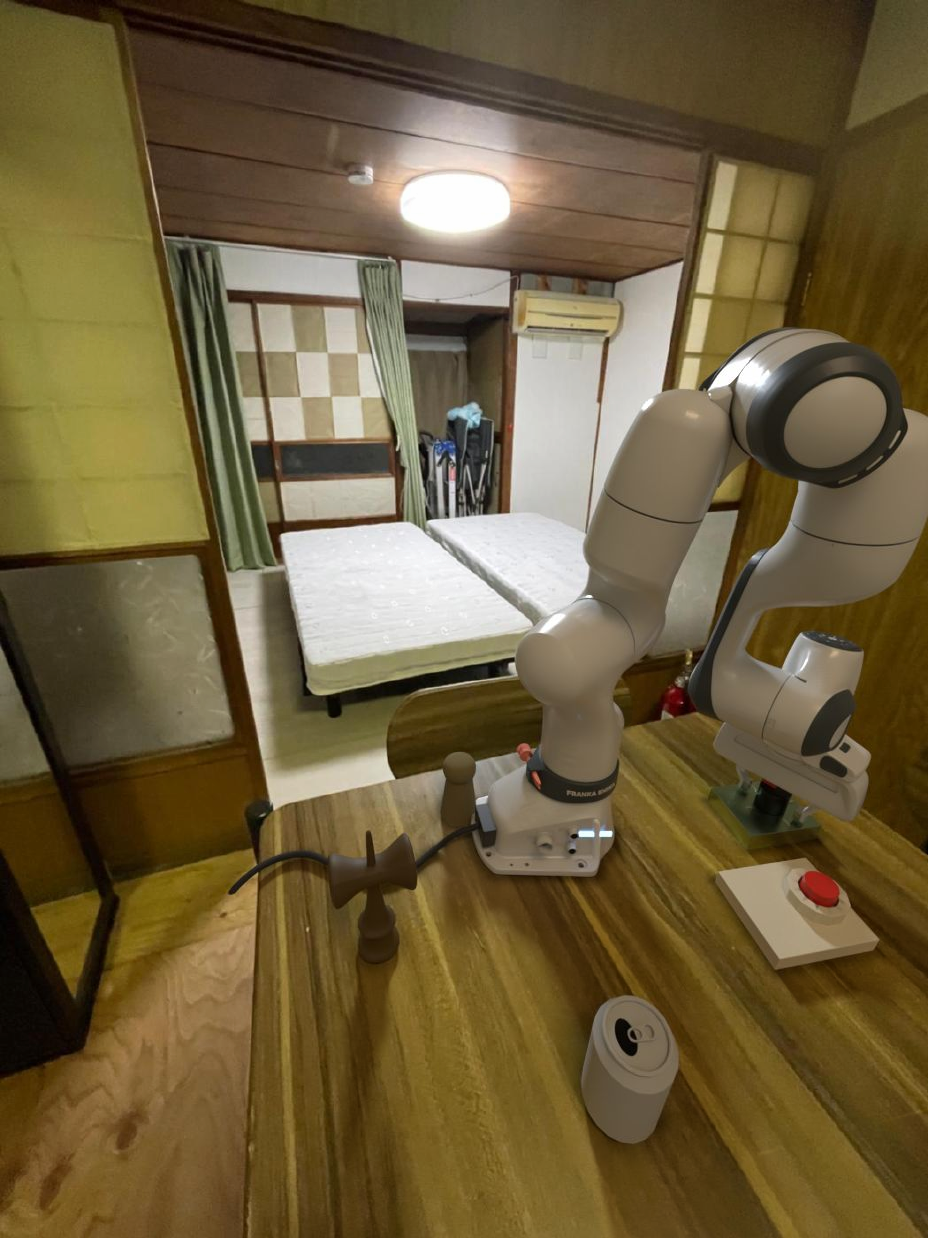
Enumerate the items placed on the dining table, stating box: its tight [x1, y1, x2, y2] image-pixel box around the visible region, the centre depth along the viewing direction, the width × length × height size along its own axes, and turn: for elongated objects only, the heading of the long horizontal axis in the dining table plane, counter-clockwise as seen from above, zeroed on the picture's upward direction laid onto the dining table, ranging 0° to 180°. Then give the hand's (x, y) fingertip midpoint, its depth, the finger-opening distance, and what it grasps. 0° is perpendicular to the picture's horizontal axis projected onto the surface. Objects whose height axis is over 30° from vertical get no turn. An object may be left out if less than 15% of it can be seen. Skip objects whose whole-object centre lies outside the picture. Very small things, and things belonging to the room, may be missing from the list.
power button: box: [800, 870, 840, 907], centre depth 67 cm, size 4×4×2 cm
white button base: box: [714, 857, 880, 971], centre depth 67 cm, size 14×12×4 cm
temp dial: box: [755, 778, 793, 815], centre depth 81 cm, size 4×4×4 cm
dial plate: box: [707, 780, 822, 851], centre depth 82 cm, size 12×10×3 cm
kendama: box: [326, 829, 418, 964], centre depth 60 cm, size 6×10×20 cm, turn 108°
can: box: [580, 994, 679, 1145], centre depth 48 cm, size 8×8×12 cm
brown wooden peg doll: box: [439, 751, 477, 827], centre depth 81 cm, size 6×6×11 cm
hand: (770, 802), depth 81 cm, fingers open, 7 cm apart
